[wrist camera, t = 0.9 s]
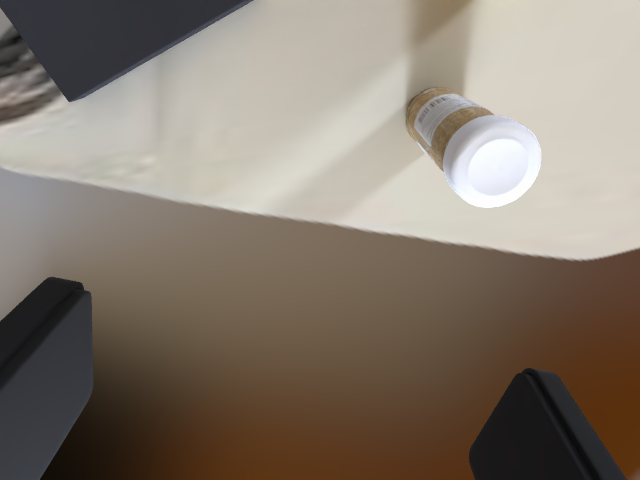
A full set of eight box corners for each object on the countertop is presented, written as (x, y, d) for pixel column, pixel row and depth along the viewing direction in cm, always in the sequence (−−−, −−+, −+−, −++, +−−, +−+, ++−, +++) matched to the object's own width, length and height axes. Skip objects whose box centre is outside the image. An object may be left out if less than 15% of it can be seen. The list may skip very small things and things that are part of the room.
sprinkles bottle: (416, 154, 34) (467, 224, 22) (395, 102, 32) (439, 148, 21) (470, 128, 33) (554, 187, 21) (452, 74, 32) (532, 104, 20)
